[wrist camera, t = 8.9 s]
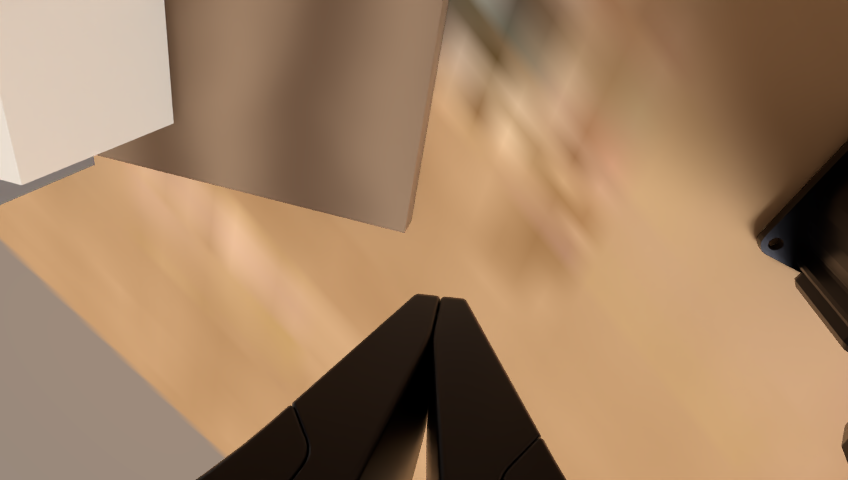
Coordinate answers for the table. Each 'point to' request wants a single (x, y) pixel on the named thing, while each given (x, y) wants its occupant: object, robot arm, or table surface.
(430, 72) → the board
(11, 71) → the plug
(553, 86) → the table surface
